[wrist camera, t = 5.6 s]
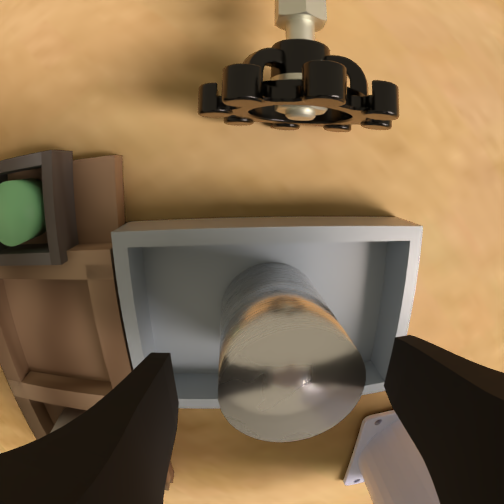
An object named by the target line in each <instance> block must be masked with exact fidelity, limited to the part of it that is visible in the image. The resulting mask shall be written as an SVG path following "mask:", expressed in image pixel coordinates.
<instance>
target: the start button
mask: <svg viewBox="0 0 504 504" xmlns="http://www.w3.org/2000/svg"><path fill="white" fill-rule="evenodd" d="M44 232H46V223H45V213H44V202H43V187H42V181H41V180H39V179H35V178H28V179H20V180H12V181H5V182H2V183H1V184H0V242H1V243H3V244H4V245H7V246H17V245H19V244H21V243H24V242H26V241H28V240H30V239H33V238H35V237H37V236H40V235H42V234H43V233H44Z"/></svg>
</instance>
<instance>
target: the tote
mask: <svg viewBox="0 0 504 504" xmlns="http://www.w3.org/2000/svg"><path fill="white" fill-rule="evenodd" d="M422 233H423V226H421V225H418V224H415V223H413V222H410V221H407V220H404V219H401V218H398V217H369V216H289V217H232V218H198V219H171V220H148V221H130V222H128V223H126V224H124V225H123V226H121V227H119V228H117V229H116V230H114V231H112V232H111V238H112V247H113V256H114V264H115V272H116V279H117V286H118V293H119V299H120V305H121V311H122V317H123V322H124V327H125V333H126V338H127V343H128V347H129V352H130V357H131V361H132V365H133V370H134V369H135V368H136V367H137V366H138V365H139V364H140V363H141V362H142V361H143V360H144V359H145V358H146V357H147V356H148V355H149V354H150V353H151V352H155V353H170V354H171V361H172V367H173V373H174V379H175V384H176V390H177V395H178V401H179V407H178V408H201V409H209V408H220V406H219V401H218V373H219V345H220V321H221V303H222V298H223V295H224V292H225V290H226V288H227V287H228V285H229V284H230V282H231V281H232V280H233V279H234V278H235V277H236V276H237V275H238V274H239V273H241V272H242V271H244V270H245V269H247V268H249V267H251V266H254V265H257V264H261V263H268V262H277V263H283V264H287V265H290V266H292V267H295V268H296V269H298V270H300V271H301V272H302V273H304V274H305V275H306V276H307V277H308V279H309V280H310V281H311V283H312V284H313V285H314V287H315V288H316V290H317V291H318V293H319V294H320V296H321V297H322V298H323V300H324V301H325V303H326V304H327V306H328V307H329V309H330V310H331V311H332V313H333V314H334V316H335V317H336V319H337V320H338V322H339V323H340V325H341V326H342V328H343V329H344V330H345V332H346V333H347V335H348V336H349V338H350V339H351V341H352V342H353V344H354V345H355V347H356V348H357V350H358V351H359V353H360V354H361V356H362V358H363V361H364V363H365V368H366V382H365V387H364V390H363V393H362V395H365V394H371V393H376V392H381V391H386V390H385V388H384V382H385V378H386V374H387V370H388V366H389V362H390V358H391V353H392V349H393V344H394V339H395V337H401V336H407V332H408V327H409V322H410V317H411V311H412V306H413V300H414V294H415V288H416V282H417V275H418V268H419V260H420V252H421V243H422Z"/></svg>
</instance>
